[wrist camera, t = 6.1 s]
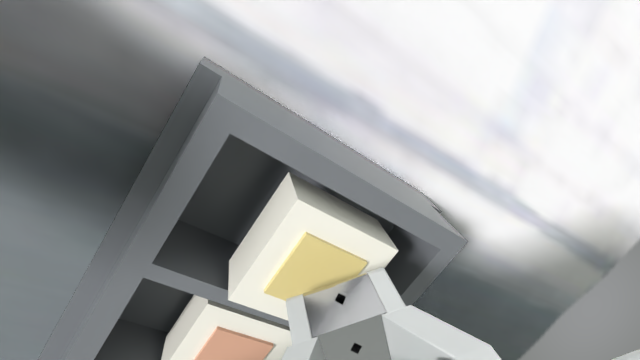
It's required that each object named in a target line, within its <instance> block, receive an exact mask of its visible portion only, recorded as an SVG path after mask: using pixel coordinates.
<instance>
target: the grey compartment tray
mask: <svg viewBox="0 0 640 360" xmlns="http://www.w3.org/2000/svg"><path fill="white" fill-rule="evenodd" d="M288 172H290V173H292V174H294V175H296V176H298V177H299V178H301V179H303V180H305V181H307V182H309V183H310V184H312V185H314V186H316V187H318V188H320V189H322V190H323V191H325V192H327V193H329V194H331V195H333V196H334V197H336V198H338V199H340V200H342V201H344V202H346V203H347V204H349V205H351V206H353V207H355V208H357V209H358V210H360V211H362V212H364V213H366V214H368V215H369V216H371V217H373V218H375V219H377V220H378V222H379V223H380V224H381V226H382V227H383V229H384V230H385V232H386V233H387V235H388V236H389V237H390V239H391V240H392V242H393V243H394V245H395V246H396V248H397V249H398V250H399V251H398V252H397V253H396V255H395V256H394V257H393V258H392V260H391V261H390V262H389V263H388V265H387V266H386V267H385V268H384V269H385V270H386V272H387V274H388V276H389V277H390V279H391V281H392V283H393V284H394V286H395V288H396V290H397V291H398V293H399V295H400V297H401V298H402V300H403V302H404V304H405V305H406V306H409V305H413V304H414V303H415V302H416V301H417V300H418V299H419V297H420V296H421V295H422V294H423V293H424V292H425V291H426V289H427V288H428V287H429V286H430V285H431V284H432V282H433V281H434V280H435V279H436V278H437V277H438V276H439V274H440V273H441V272H442V271H443V270H444V269H445V268H446V266H447V265H448V264H449V263H450V262H451V261H452V259H453V258H454V257H455V256H456V255H457V254H458V253H459V251H460V250H461V249H462V248H463V247H464V246H465V245H466V243H467V242H468V241H467V240H466V239H465V238H464V237H463V236H462V235H461V234H460V233H459V232H458V231H457V230H456V229H455V228H454V227H453V226H452V225H451V224H450V223H449V222H448V221H446V220H445V219H444V218H443V217H442V216H441V215H440V213H441V212H442V211H440V210H439V209H438V208H437V207H436V206H435V205H434V204H433V203H432V202H431V201H430V200H429V199H428V198H427V197H426V196H425V195H424V194H423V193H422V192H420V191H418V190H417V189H415V188H414V187H412V186H410V185H409V184H407V183H406V182H404V181H402V180H401V179H399V178H398V177H396V176H394V175H393V174H391V173H390V172H388V171H386V170H385V169H383V168H382V167H380V166H378V165H377V164H375V163H374V162H372V161H370V160H369V159H367V158H366V157H364V156H362V155H361V154H359V153H358V152H356V151H354V150H353V149H351V148H350V147H348V146H346V145H345V144H343V143H342V142H340V141H338V140H337V139H335V138H334V137H332V136H330V135H329V134H327V133H326V132H324V131H322V130H321V129H319V128H318V127H316V126H314V125H313V124H311V123H310V122H308V121H306V120H305V119H303V118H302V117H300V116H298V115H297V114H295V113H294V112H292V111H290V110H289V109H287V108H286V107H284V106H282V105H281V104H279V103H278V102H276V101H274V100H273V99H271V98H270V97H268V96H266V95H265V94H263V93H262V92H260V91H258V90H257V89H255V88H254V87H252V86H250V85H249V84H247V83H246V82H244V81H242V80H241V79H239V78H238V77H236V76H234V75H233V74H231V73H230V72H228V71H226V70H225V69H223V68H222V67H220V66H218V65H217V64H215V63H214V62H212V61H210V60H209V59H207V58H206V57H204V58H203V59H202V61H201V62H200V63H199V65H198V67H197V69H196V71H195V72H194V74H193V76H192V78H191V80H190V82H189V83H188V85H187V87H186V89H185V91H184V93H183V94H182V96H181V98H180V100H179V102H178V104H177V105H176V107H175V109H174V111H173V113H172V115H171V116H170V118H169V120H168V122H167V124H166V125H165V127H164V129H163V131H162V133H161V135H160V136H159V138H158V140H157V142H156V144H155V146H154V147H153V149H152V151H151V153H150V155H149V157H148V158H147V160H146V162H145V164H144V166H143V168H142V169H141V171H140V173H139V175H138V177H137V179H136V180H135V182H134V184H133V186H132V188H131V190H130V191H129V193H128V195H127V197H126V199H125V201H124V202H123V204H122V206H121V208H120V210H119V212H118V213H117V215H116V217H115V219H114V221H113V222H112V224H111V226H110V228H109V230H108V232H107V233H106V235H105V237H104V239H103V241H102V243H101V244H100V246H99V248H98V250H97V252H96V254H95V255H94V257H93V259H92V261H91V263H90V265H89V266H88V268H87V270H86V272H85V274H84V276H83V277H82V279H81V281H80V283H79V285H78V287H77V288H76V290H75V292H74V294H73V296H72V298H71V299H70V301H69V303H68V305H67V307H66V308H65V310H64V312H63V314H62V316H61V318H60V319H59V321H58V323H57V325H56V327H55V329H54V330H53V332H52V334H51V336H50V338H49V340H48V341H47V343H46V345H45V347H44V349H43V351H42V352H41V354H40V356H39V358H38V360H161V358H162V353H163V349H164V344H165V339H166V336H167V335H168V333H169V332H170V330H171V329H172V327H173V325H174V324H175V322H176V321H177V319H178V318H179V316H180V315H181V313H182V312H183V310H184V309H185V307H186V306H187V304H188V303H189V301H190V300H191V298H192V297H193V295H196V296H199V297H202V298H205V299H208V300H211V301H214V302H217V303H220V304H223V305H226V306H229V307H232V308H235V309H238V310H241V311H244V312H247V313H250V314H253V315H256V316H259V317H262V318H265V319H268V320H271V321H274V322H277V323H280V324H283V325H286V326H289V321H288V320H285V319H282V318H279V317H276V316H273V315H270V314H267V313H264V312H261V311H258V310H256V309H253V308H250V307H247V306H244V305H241V304H238V303H235V302H232V301H229V300H228V282H229V260H230V259H231V257H232V256H233V254H234V253H235V251H236V250H237V248H238V247H239V245H240V244H241V242H242V241H243V239H244V238H245V236H246V235H247V233H248V232H249V230H250V229H251V227H252V226H253V224H254V223H255V221H256V220H257V218H258V217H259V215H260V214H261V212H262V211H263V209H264V208H265V206H266V205H267V203H268V202H269V200H270V199H271V197H272V196H273V194H274V193H275V191H276V190H277V188H278V187H279V185H280V184H281V182H282V181H283V179H284V178H285V176H286V175H287V173H288Z"/></svg>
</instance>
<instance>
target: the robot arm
mask: <svg viewBox="0 0 640 360" xmlns="http://www.w3.org/2000/svg"><path fill="white" fill-rule="evenodd" d="M286 308H287V315H288V321H289V327H290V334H291V340H292V346H289V347H287V349H286V351H285V353H284V355H283V357H282V359H281V360H501V358H500V357H499V356H498V354H497V353H496V352H495V350H494V349H493V348H492V346H491V345H489V344H487V343H485V342H483V341H481V340H479V339H477V338H475V337H473V336H471V335H469V334H467V333H465V332H463V331H462V330H460V329H458V328H456V327H454V326H452V325H450V324H448V323H446V322H444V321H442V320H440V319H438V318H436V317H434V316H432V315H430V314H428V313H426V312H424V311H422V310H420V309H418V308H416V307H414V306H412V305H409V306H406V305H405V304H404V302H403V300H402V298H401V297H400V295H399V293H398V291H397V290H396V288H395V286H394V284H393V283H392V281H391V279H390V277H389V276H388V274H387V272H386V270H385V269H384V268H383V267H381V268H378V269H375V270H373V271H370V272H367V273H364V274H361V275H358V276H356V277H353V278H350V279H347V280H344V281H341V282H338V283H335V284H332V285H329V286H326V287H322V288H319V289H316V290H312V291H309V292H306V293H303V294H301V295H297V296H294V297H291V298H287V299H286ZM611 360H640V349H638V350H635V351H633V352H630V353H627V354H625V355H622V356H619V357H617V358H614V359H611Z"/></svg>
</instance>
